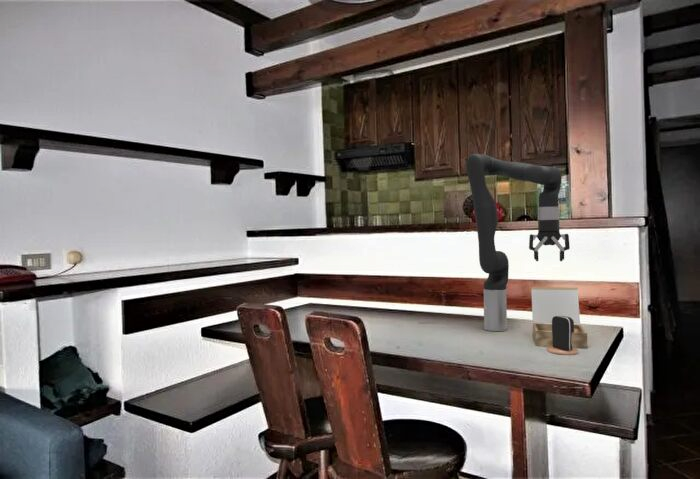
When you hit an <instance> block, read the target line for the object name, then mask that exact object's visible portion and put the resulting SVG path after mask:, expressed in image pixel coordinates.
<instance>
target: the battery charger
mask: <svg viewBox="0 0 700 479" xmlns="http://www.w3.org/2000/svg"><path fill="white" fill-rule="evenodd" d="M551 324H552V339H553V347H554V348H558V349H561V350H566V351H570V350H572V345H571V335H572V333H573V332H574V325H575V324H574V321H573V319H572V318H570V317H566V316H554V317H553V318H552V323H551Z"/></svg>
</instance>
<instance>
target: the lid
mask: <svg viewBox="0 0 700 479" xmlns="http://www.w3.org/2000/svg"><path fill="white" fill-rule="evenodd" d="M530 289H531V311H532V312H531V313H532V315H531V316H532V323H540V324H552V318H553V317H554V316H566V317H570V318H572V319H573V321H574V325H581V318H580V315H581V314H580V305H579V303H580V302H579V290H578V289H579V288H578V287H561V286H560V287H555V286H554V287H553V286H550V287H549V286H548V287H547V286H540V287H539V286H531V287H530Z"/></svg>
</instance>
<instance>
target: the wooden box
mask: <svg viewBox="0 0 700 479" xmlns="http://www.w3.org/2000/svg"><path fill="white" fill-rule="evenodd" d="M574 328H576V329H578V332H573V333H572V335H571V345H572V347H574V348H577V349H579V348H581V349H588V332H587V331H586V329H585V328H584V327H583V326H582V325H581V324H574ZM532 338H533V341H534V344H535V346H536V347H548V346H553V339H552V323H541V322H532Z"/></svg>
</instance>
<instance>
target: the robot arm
mask: <svg viewBox="0 0 700 479" xmlns="http://www.w3.org/2000/svg"><path fill="white" fill-rule="evenodd" d="M465 167H466V173H467V177H468V181H469V185H470V191H471V196H472V202H473V211H474V212H473V213H474V217H475V224H476V231H477V232H476V233H477V239H478V258H479V266H480V268H481V270H482V271H483V272H484V273H485V274H488V277H487V278H486V280H485V281H484V282H483V329H484V331H489V332H504V331H507V330H508V321H507V320H508V316H507V314H508V313H507V312H508V311H507V309H508V306H507V285H508V281H509V268H510V267H509V265H510V264H509V258H508V255H507V254H506V253H505V252H503V251H500V250H496V244H495V235H496V230H497V227H498V221H499V217H498V216H499V215H498V208H497V203H496V202H495V199H494V197H493V195H492V193H491V192H490V190H489V188H488V186H487V183H486V176H502V177H505V178H507V179H511V180H516V181H521V182H527V183H528V182H529V183H534V184H535V185H536V184H537V185H542V186H543V189H542V191H541V192H540V193H538V194H539V195H538V211H537V221H538V222H537V231H538V232H537V234H532V233H530V234H529V237H528V238H529V240H528V241H529V242H528V249H529V250H530V251H533V259H534V260H535V261H536V262H539V250H540V249H541V247H542V246H556V248H558V250H559V261H560V262H563V260H565V251H568V250H570V236H569V234H568V233H565V234H561V232H560V208H559V194H560V190H561V187H562V186H561V185H562V181H563V180H562V179H563V178H562V172H561V170H560V169H558V168H557V167H555V166H545V165H535V164H532V163H526V162H520V161H519V162H518V161H507V160H501V159H498V158H495V157H492V156H489V155H488V154H483V153H472V154H470V155H469V156H468V157H467V159H466V163H465ZM536 238H537V240H538V241H539V242H538V243H537V245H536V246H535V247H534V241H535V240H536ZM561 238H562V239H563V240H564V246H563V245H562V244H561V243H560V242H559V241H560V239H561Z"/></svg>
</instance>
